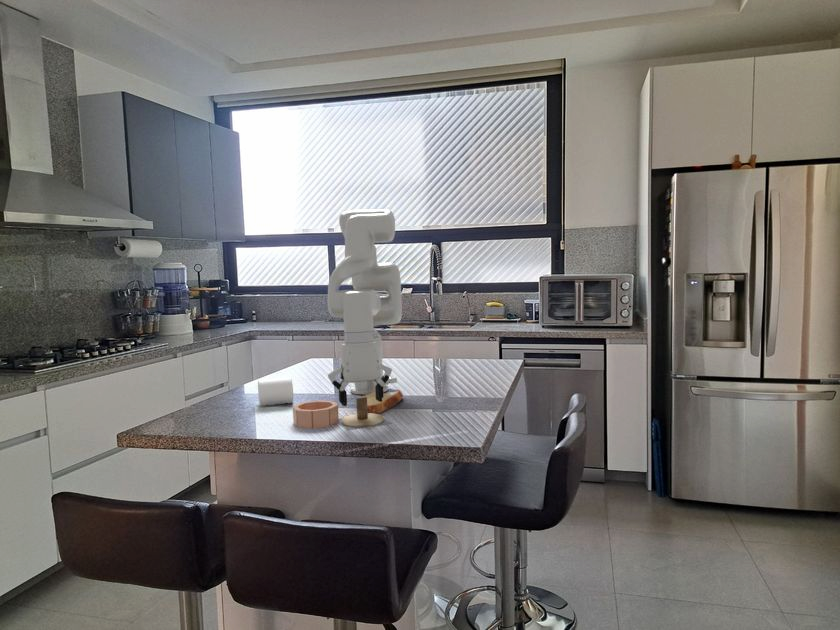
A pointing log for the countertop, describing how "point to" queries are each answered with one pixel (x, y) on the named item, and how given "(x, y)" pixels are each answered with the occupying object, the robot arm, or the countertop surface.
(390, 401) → the bread slice
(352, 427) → the mat
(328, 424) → the bowl
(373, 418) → the lid
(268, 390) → the mug
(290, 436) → the countertop surface
